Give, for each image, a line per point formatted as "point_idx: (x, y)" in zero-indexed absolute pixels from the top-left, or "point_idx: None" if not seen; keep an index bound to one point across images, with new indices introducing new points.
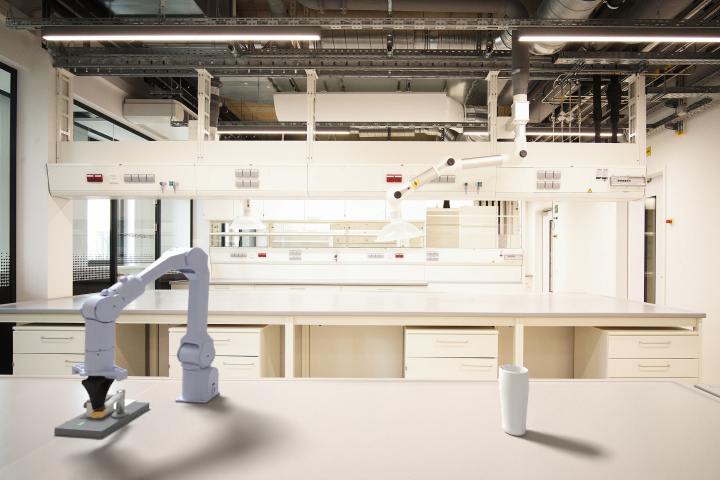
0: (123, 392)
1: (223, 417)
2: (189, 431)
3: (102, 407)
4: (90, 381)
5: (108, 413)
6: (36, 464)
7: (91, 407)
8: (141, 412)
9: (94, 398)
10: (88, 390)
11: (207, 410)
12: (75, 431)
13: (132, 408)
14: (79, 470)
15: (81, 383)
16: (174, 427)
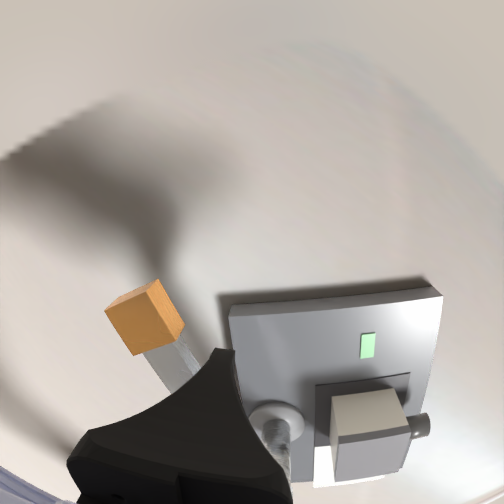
0: None
1: (41, 423)
2: (37, 365)
3: (172, 363)
4: (114, 470)
5: (330, 421)
6: (292, 94)
7: (382, 416)
8: None
9: (185, 385)
10: (219, 425)
11: None
12: (351, 303)
13: None
14: (108, 114)
15: (277, 469)
16: (82, 385)
